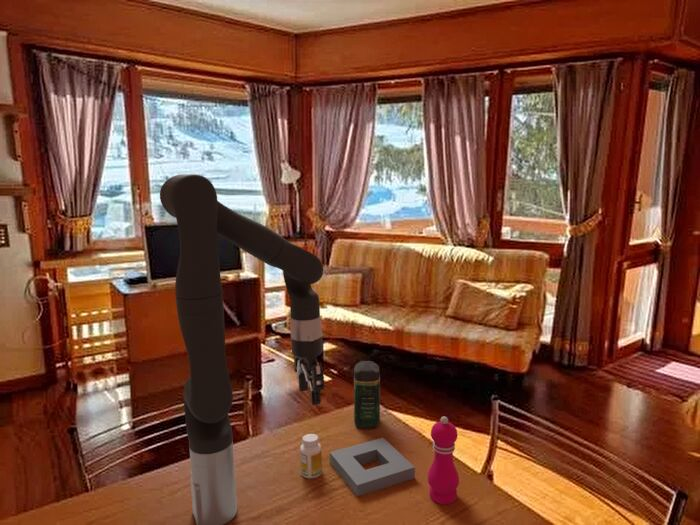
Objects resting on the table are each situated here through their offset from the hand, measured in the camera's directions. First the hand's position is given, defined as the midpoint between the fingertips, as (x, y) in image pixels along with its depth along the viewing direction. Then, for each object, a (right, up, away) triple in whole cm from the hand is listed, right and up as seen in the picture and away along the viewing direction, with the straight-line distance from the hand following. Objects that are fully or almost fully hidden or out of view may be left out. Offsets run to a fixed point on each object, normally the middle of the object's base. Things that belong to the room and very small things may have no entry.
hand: (309, 397), depth 126 cm
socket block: (+15, -20, +4) cm, 25 cm away
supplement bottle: (0, -20, +4) cm, 21 cm away
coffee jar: (+15, -16, +29) cm, 37 cm away
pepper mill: (+32, -22, -6) cm, 39 cm away
